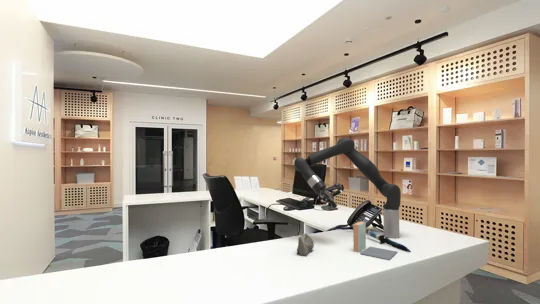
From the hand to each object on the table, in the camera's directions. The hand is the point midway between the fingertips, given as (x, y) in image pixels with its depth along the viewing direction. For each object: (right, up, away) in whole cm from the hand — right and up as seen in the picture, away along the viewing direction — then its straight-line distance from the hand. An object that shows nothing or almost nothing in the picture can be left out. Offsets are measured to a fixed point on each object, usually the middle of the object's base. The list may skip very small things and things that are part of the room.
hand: (335, 206), depth 155 cm
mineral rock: (-19, -21, -15) cm, 32 cm away
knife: (+29, -22, -1) cm, 36 cm away
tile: (+11, -21, -9) cm, 25 cm away
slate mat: (+18, -21, -16) cm, 32 cm away
